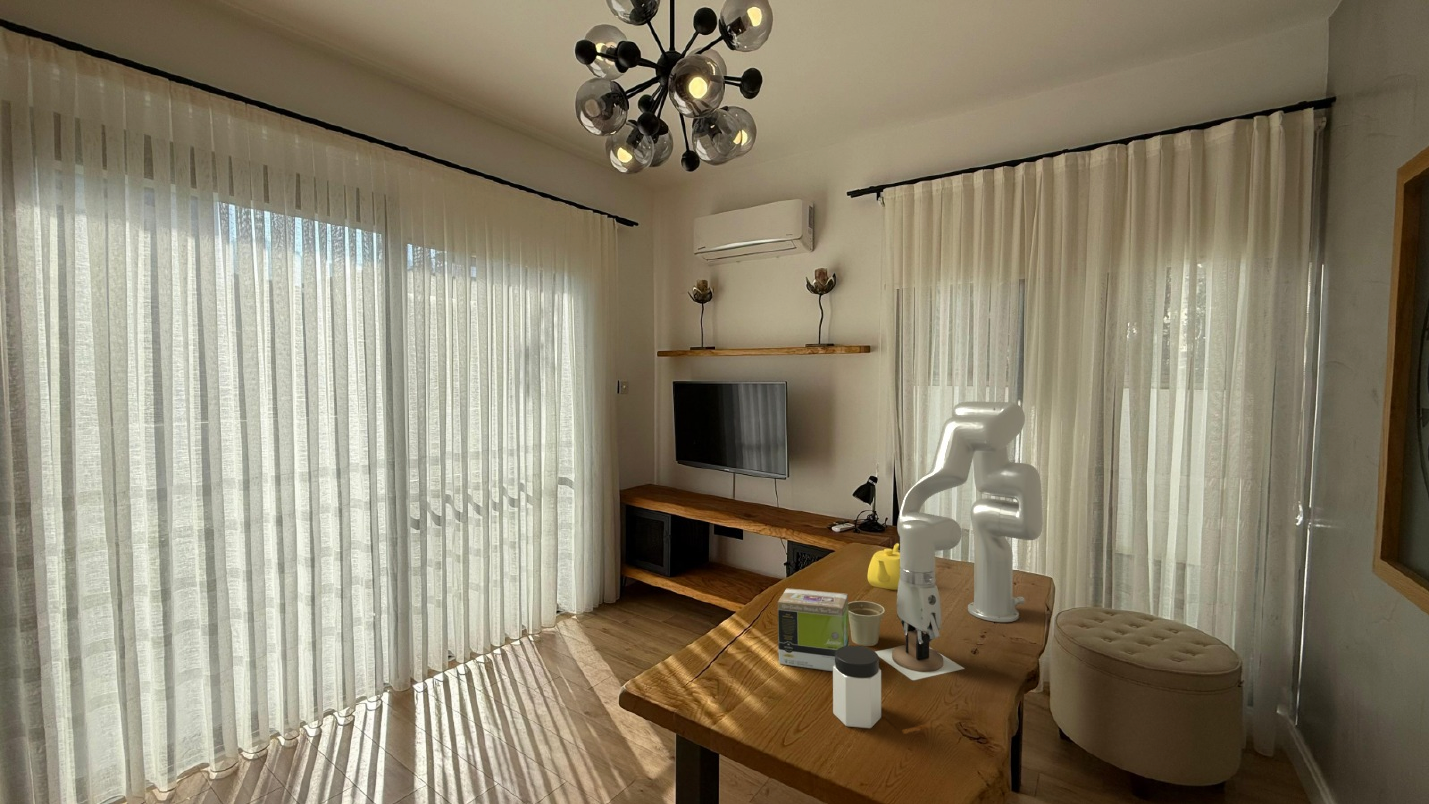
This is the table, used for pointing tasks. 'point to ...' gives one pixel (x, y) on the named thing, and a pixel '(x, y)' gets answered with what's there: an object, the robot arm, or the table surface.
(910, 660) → the lid
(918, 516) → the robot arm
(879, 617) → the flower pot
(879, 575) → the teapot
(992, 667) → the table surface
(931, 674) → the mat
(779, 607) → the tea box
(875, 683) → the jar
